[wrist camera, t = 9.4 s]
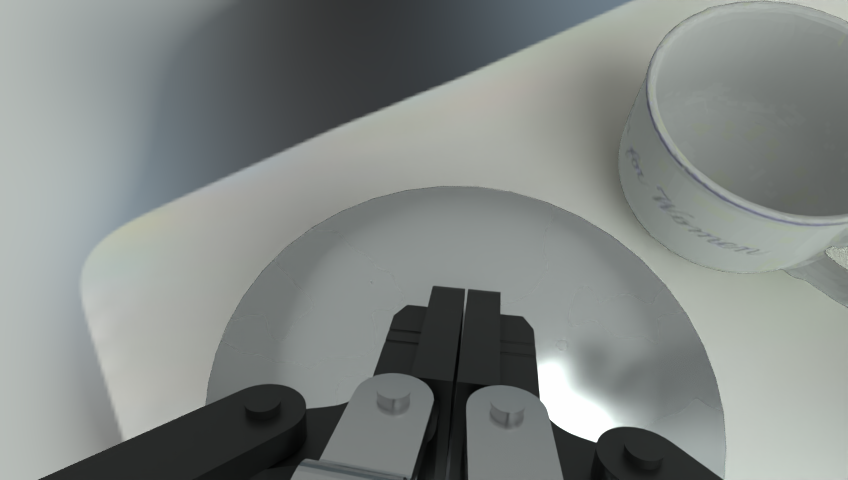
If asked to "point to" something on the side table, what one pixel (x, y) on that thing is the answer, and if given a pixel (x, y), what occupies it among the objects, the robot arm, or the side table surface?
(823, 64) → the teacup
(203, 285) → the side table surface
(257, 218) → the side table surface
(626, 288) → the lid
